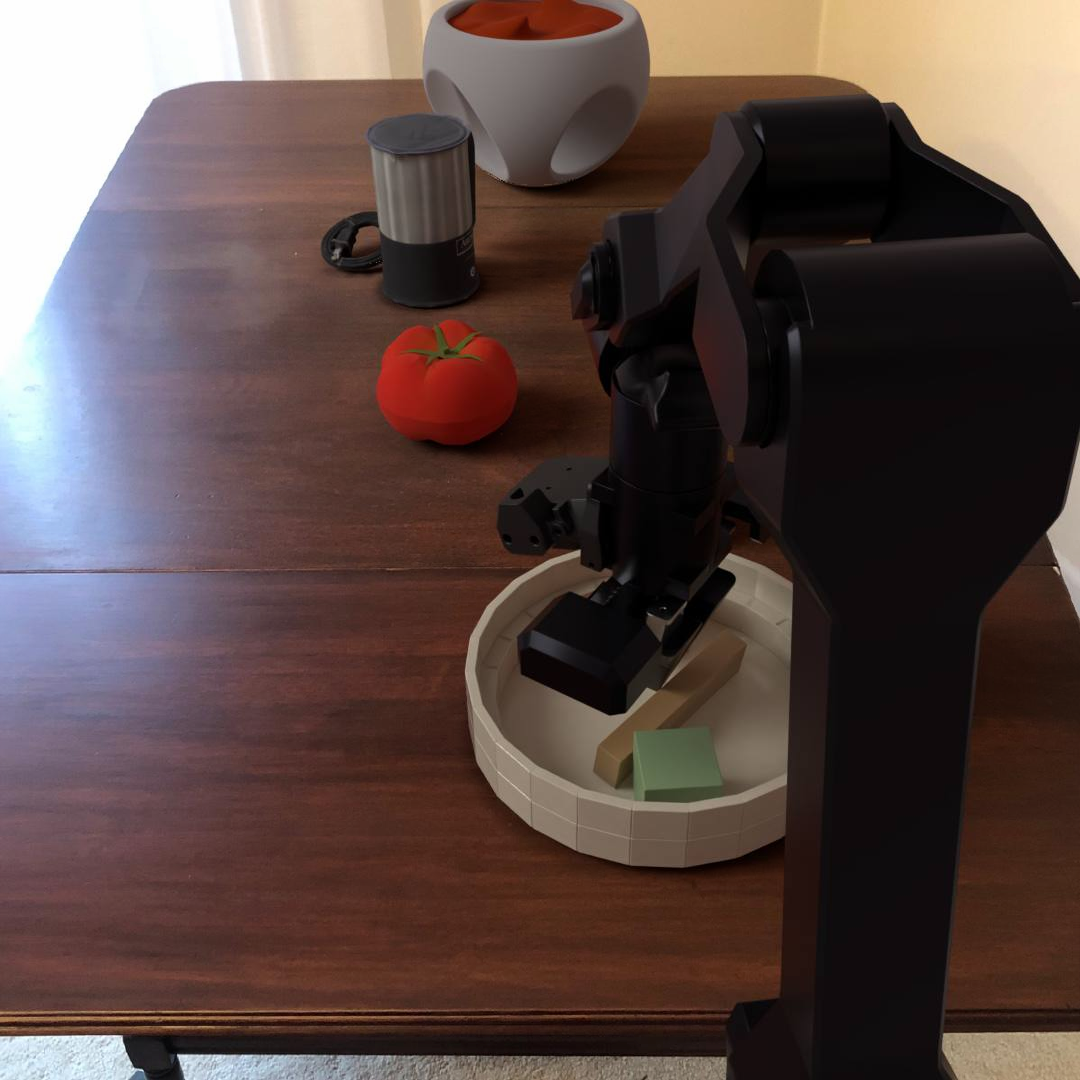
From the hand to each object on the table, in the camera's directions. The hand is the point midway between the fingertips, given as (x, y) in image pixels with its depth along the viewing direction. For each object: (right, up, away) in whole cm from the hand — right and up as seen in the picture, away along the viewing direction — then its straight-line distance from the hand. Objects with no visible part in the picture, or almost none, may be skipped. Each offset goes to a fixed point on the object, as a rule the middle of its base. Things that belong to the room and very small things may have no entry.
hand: (652, 685), depth 69 cm
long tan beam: (+1, -2, +1) cm, 2 cm away
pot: (-7, +49, +67) cm, 83 cm away
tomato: (-13, +17, +27) cm, 35 cm away
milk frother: (-20, +33, +47) cm, 61 cm away
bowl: (0, -2, +2) cm, 3 cm away
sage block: (+1, -6, -4) cm, 7 cm away
